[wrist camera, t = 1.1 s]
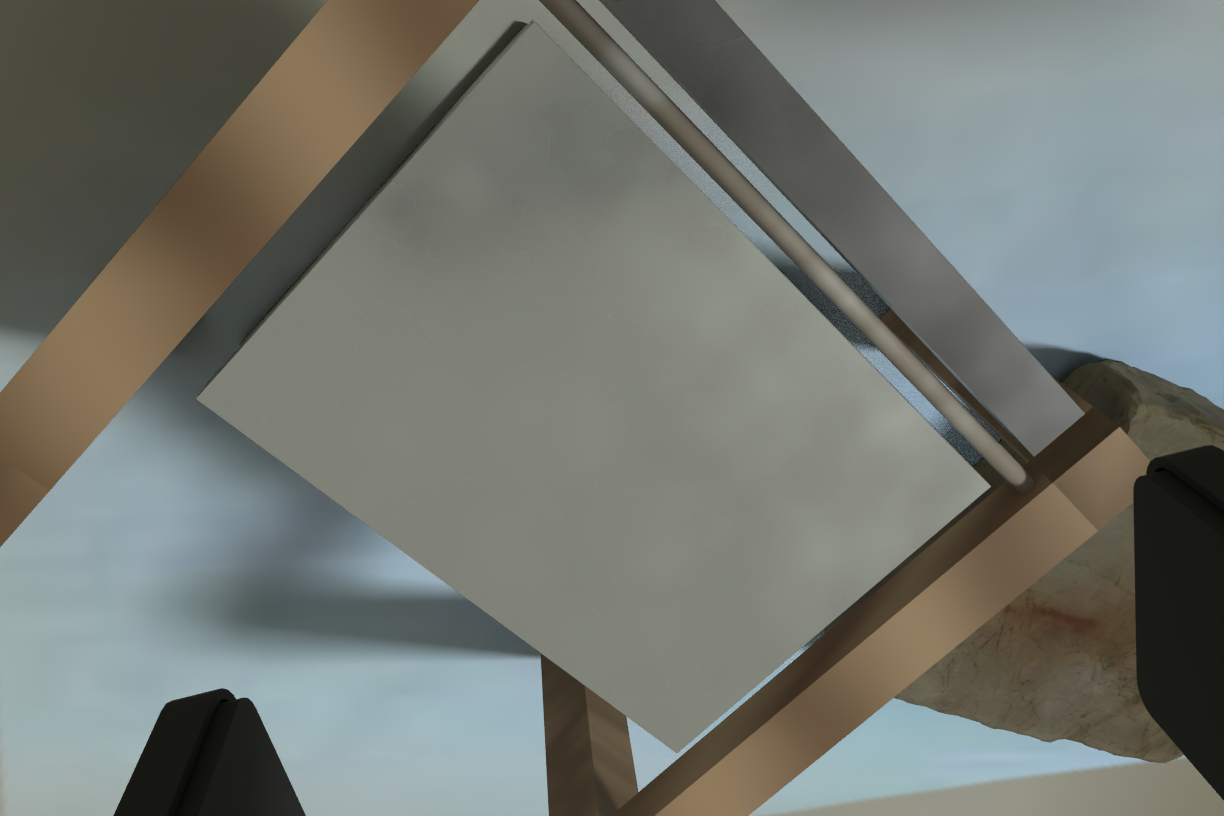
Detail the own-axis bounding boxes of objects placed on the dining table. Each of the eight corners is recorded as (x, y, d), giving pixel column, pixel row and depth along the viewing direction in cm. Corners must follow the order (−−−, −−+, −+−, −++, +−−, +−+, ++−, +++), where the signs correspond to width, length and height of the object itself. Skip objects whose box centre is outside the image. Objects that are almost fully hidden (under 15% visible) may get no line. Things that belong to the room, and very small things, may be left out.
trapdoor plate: (626, -86, 20) (634, -89, 19) (1055, 390, 25) (1085, 413, 24) (210, 378, 23) (193, 402, 22) (670, 722, 28) (678, 758, 27)
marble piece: (811, 627, 42) (842, 694, 38) (1003, 304, 37) (1060, 343, 33) (1136, 735, 46) (1194, 806, 42) (1346, 456, 41) (1433, 506, 37)
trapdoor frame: (520, -162, 30) (529, -242, 18) (957, 315, 37) (1164, 477, 25) (114, 315, 34) (-88, 497, 22) (576, 659, 41) (604, 932, 29)
